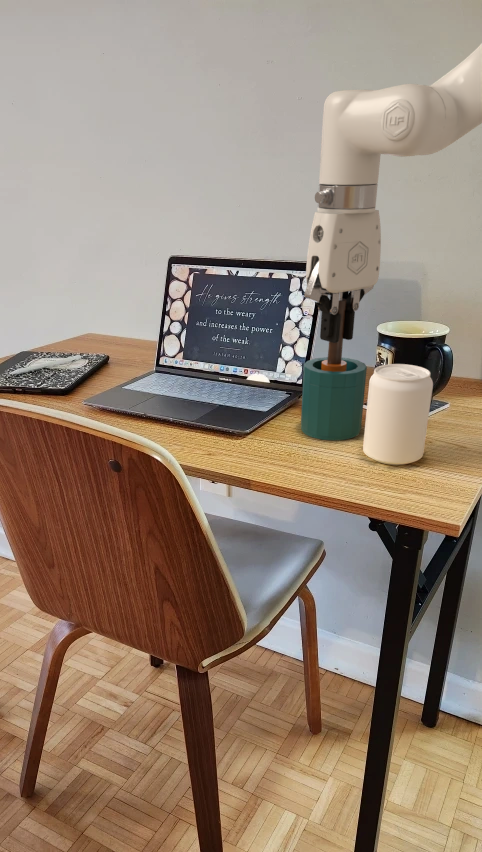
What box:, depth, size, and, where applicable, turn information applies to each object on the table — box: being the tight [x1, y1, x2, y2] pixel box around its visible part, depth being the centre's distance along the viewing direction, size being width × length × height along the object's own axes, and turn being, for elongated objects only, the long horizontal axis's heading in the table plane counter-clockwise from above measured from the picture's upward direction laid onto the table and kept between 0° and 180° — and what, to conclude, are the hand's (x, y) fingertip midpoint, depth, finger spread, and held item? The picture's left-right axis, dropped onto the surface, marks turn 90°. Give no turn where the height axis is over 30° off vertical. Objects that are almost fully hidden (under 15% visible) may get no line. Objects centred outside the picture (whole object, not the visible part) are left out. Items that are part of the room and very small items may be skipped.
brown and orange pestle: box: [321, 297, 347, 372], centre depth 99 cm, size 4×4×13 cm
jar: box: [300, 356, 368, 441], centre depth 102 cm, size 9×9×10 cm
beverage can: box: [362, 363, 434, 466], centre depth 93 cm, size 8×8×12 cm
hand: (336, 338), depth 98 cm, fingers closed on brown and orange pestle, 2 cm apart
